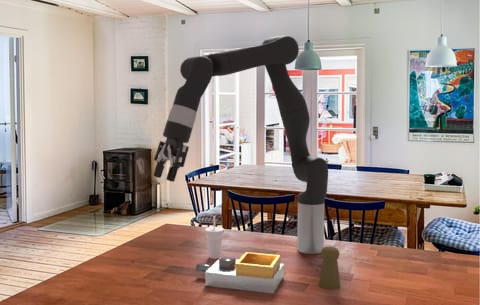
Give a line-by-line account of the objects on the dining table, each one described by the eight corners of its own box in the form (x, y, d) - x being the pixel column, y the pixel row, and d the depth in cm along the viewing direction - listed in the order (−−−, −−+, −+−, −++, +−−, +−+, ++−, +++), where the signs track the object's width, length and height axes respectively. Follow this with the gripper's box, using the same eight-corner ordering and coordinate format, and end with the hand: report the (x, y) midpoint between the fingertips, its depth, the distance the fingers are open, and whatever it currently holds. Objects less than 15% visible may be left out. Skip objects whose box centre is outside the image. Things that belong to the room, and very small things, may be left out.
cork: (314, 285, 139) (315, 247, 138) (326, 279, 143) (326, 243, 142) (332, 290, 135) (333, 252, 133) (344, 284, 139) (345, 247, 138)
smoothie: (224, 253, 167) (223, 214, 166) (224, 259, 161) (223, 218, 159) (205, 254, 167) (205, 214, 165) (204, 260, 161) (204, 218, 159)
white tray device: (205, 268, 153) (205, 247, 152) (283, 276, 145) (283, 254, 145) (189, 283, 140) (188, 260, 139) (273, 293, 133) (273, 268, 132)
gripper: (203, 129, 133) (186, 185, 131) (179, 126, 145) (163, 179, 143) (180, 120, 129) (162, 178, 127) (157, 118, 141) (141, 172, 139)
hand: (163, 178), depth 135 cm, fingers open, 8 cm apart
